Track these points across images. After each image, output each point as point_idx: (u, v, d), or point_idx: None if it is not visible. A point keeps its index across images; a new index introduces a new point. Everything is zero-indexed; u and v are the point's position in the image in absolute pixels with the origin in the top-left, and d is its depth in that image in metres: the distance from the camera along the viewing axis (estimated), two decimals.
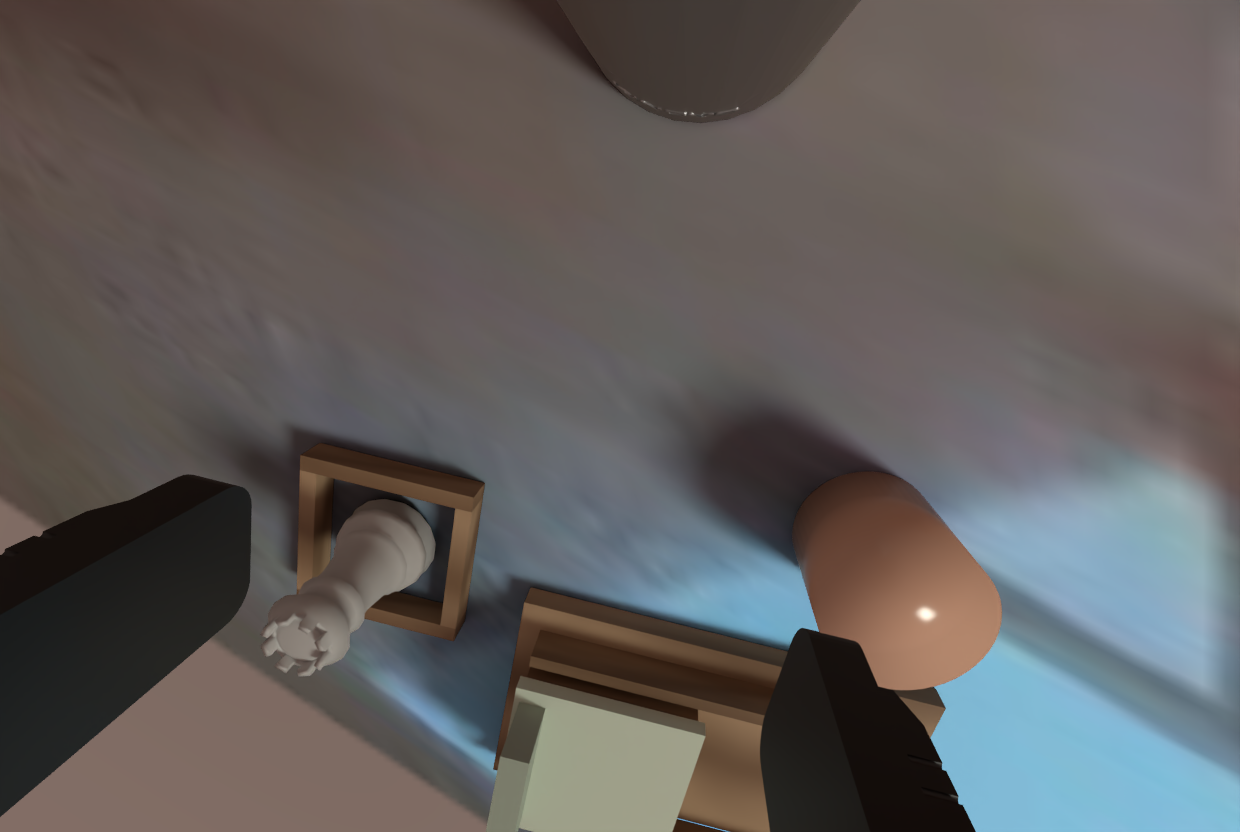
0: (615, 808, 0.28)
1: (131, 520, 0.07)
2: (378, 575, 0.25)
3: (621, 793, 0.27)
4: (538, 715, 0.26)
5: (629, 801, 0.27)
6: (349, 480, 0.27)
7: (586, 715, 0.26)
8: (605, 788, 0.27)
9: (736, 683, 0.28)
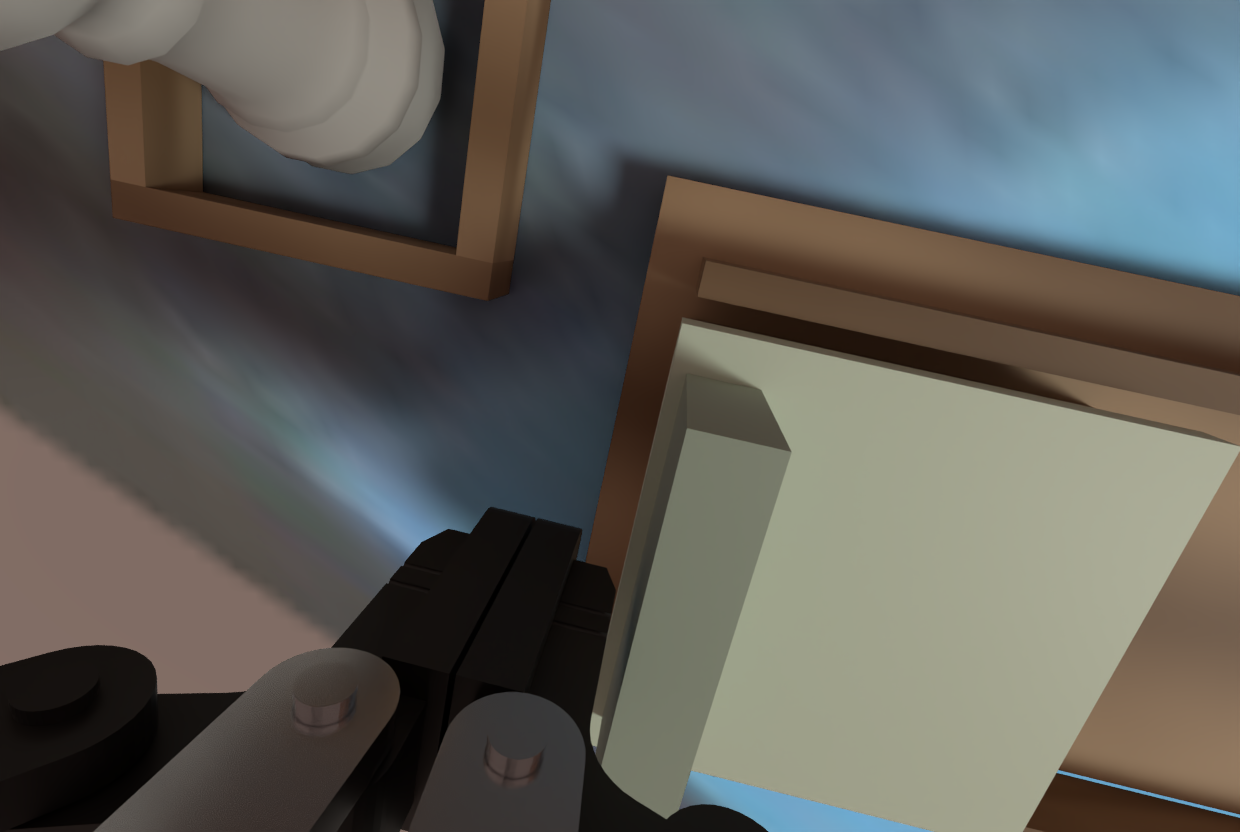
0: (918, 696, 0.11)
1: (486, 552, 0.08)
2: None
3: (942, 649, 0.10)
4: (750, 394, 0.09)
5: (961, 673, 0.10)
6: None
7: (881, 403, 0.09)
8: (899, 636, 0.10)
9: (1213, 367, 0.11)
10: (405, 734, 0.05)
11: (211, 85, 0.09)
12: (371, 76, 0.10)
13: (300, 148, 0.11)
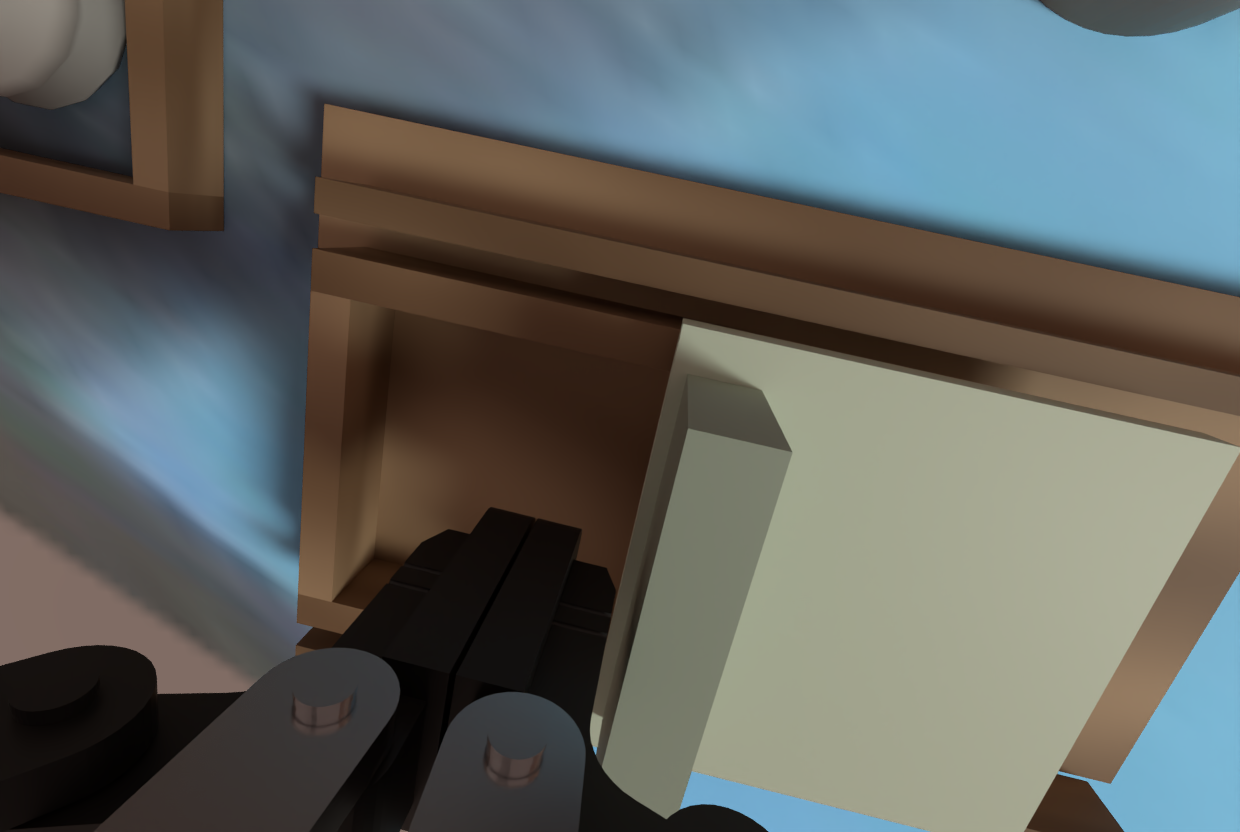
0: (918, 696, 0.11)
1: (486, 552, 0.08)
2: None
3: (942, 650, 0.10)
4: (751, 395, 0.09)
5: (961, 674, 0.10)
6: None
7: (881, 404, 0.09)
8: (900, 637, 0.10)
9: (847, 289, 0.11)
10: (405, 734, 0.05)
11: None
12: (10, 1, 0.11)
13: None
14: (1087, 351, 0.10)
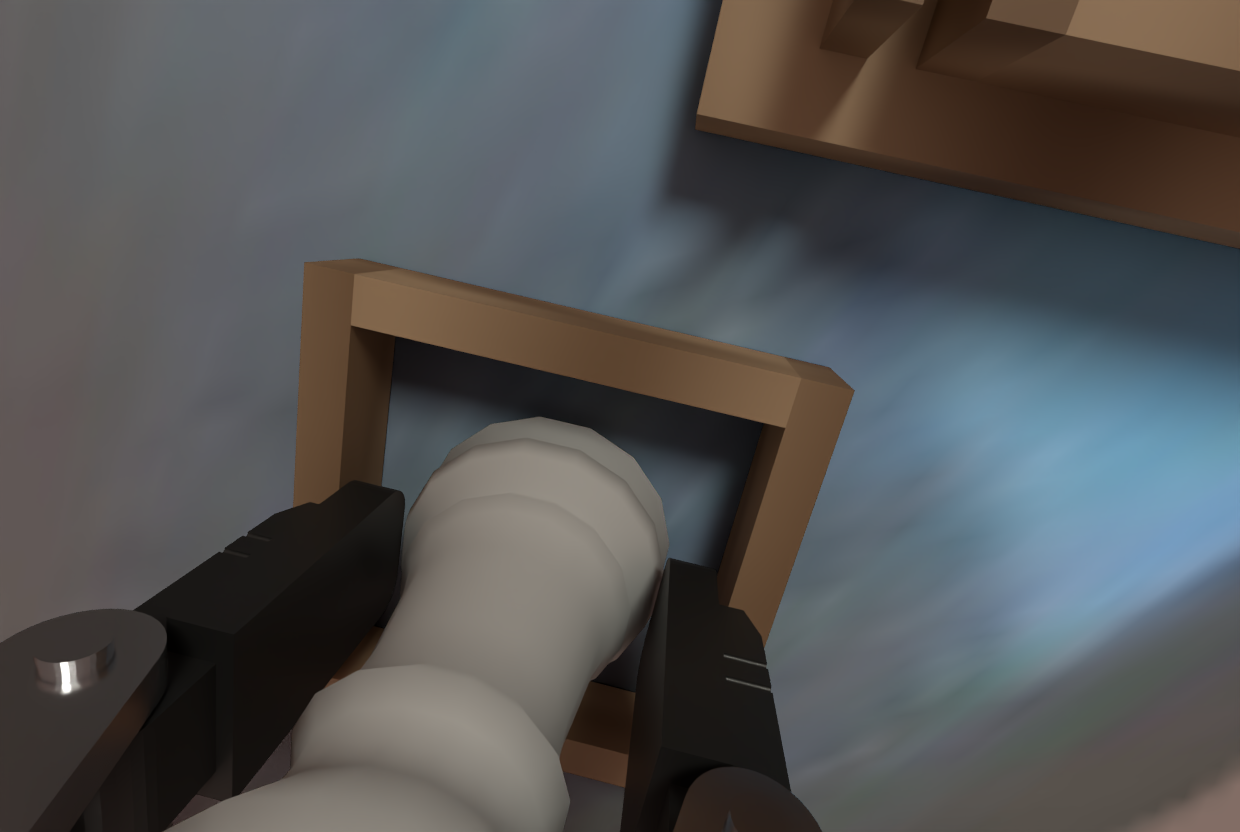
0: None
1: (329, 521, 0.08)
2: (437, 583, 0.07)
3: None
4: None
5: None
6: None
7: None
8: None
9: None
10: (178, 695, 0.05)
11: (584, 689, 0.07)
12: (570, 501, 0.08)
13: (646, 598, 0.09)
14: None
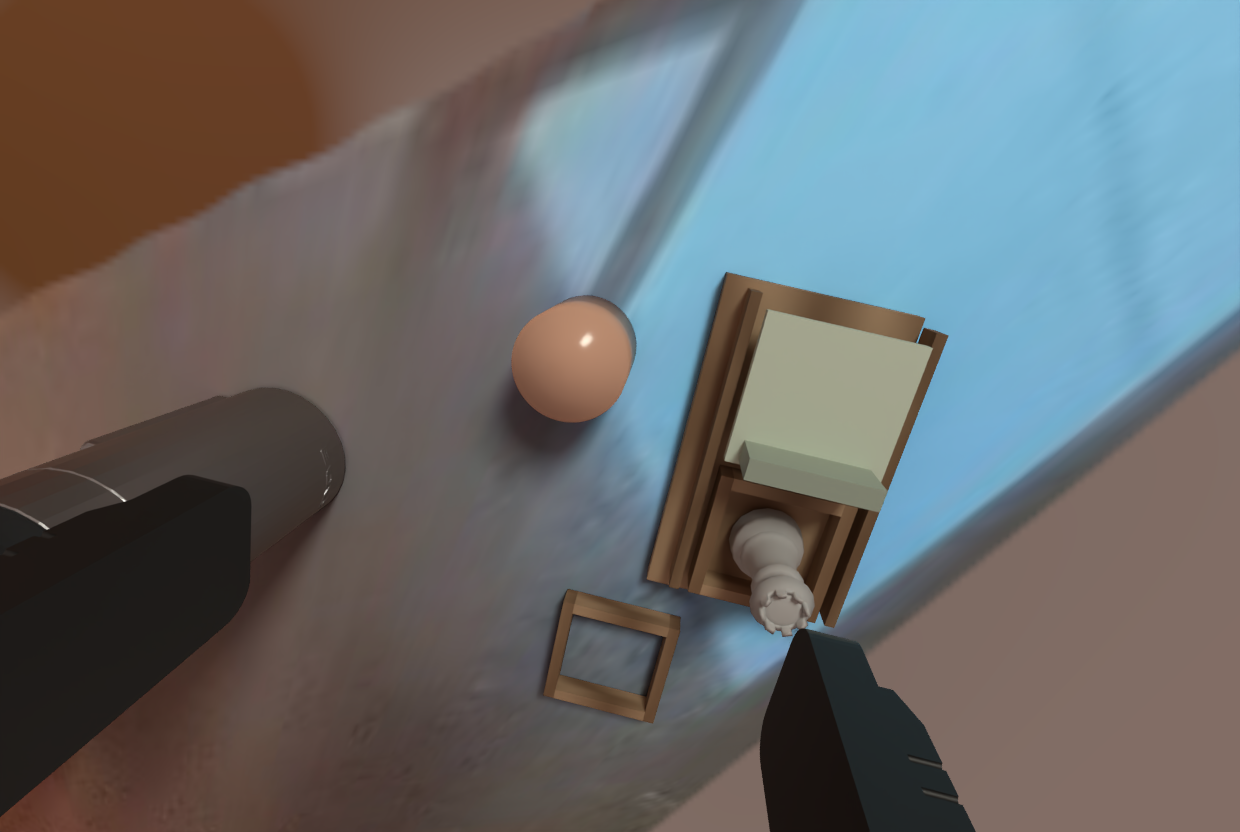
0: (857, 388, 0.31)
1: (131, 520, 0.07)
2: (766, 551, 0.33)
3: (838, 382, 0.31)
4: (744, 446, 0.32)
5: (848, 375, 0.31)
6: (558, 671, 0.41)
7: (750, 408, 0.32)
8: (832, 396, 0.31)
9: (707, 437, 0.35)
10: None
11: None
12: (785, 532, 0.35)
13: (801, 557, 0.35)
14: (726, 388, 0.33)
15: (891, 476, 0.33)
